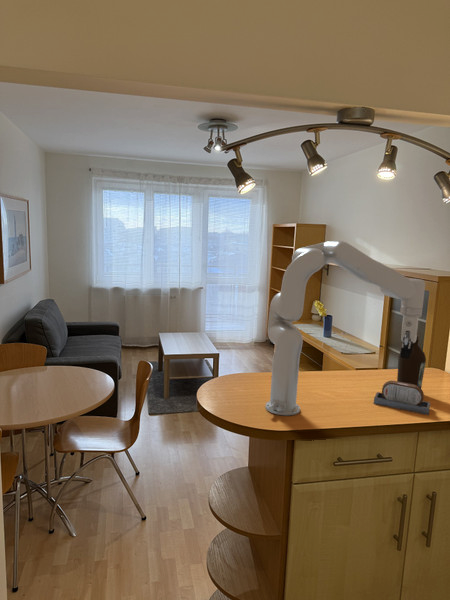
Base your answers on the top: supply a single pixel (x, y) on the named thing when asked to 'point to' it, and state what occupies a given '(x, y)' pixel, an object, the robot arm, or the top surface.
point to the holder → (402, 404)
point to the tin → (402, 392)
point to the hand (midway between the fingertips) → (406, 355)
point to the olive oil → (412, 366)
